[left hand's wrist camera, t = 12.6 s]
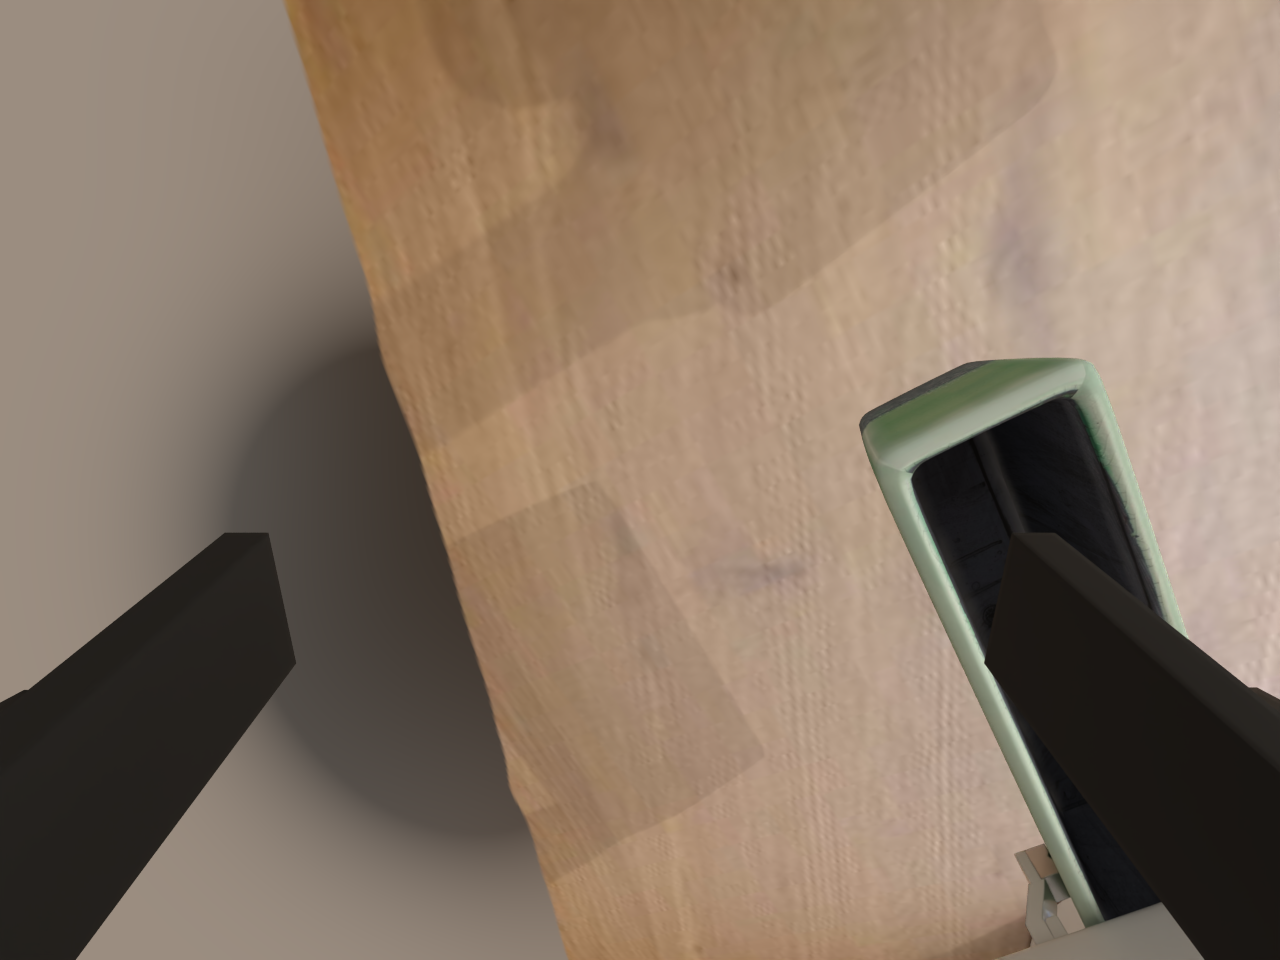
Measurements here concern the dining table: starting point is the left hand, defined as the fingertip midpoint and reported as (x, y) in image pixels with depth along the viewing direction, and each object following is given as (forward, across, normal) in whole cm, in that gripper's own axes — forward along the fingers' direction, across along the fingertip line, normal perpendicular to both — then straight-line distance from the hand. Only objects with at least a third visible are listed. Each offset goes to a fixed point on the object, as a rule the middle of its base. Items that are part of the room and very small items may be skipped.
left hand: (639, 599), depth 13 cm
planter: (+17, +17, -11) cm, 26 cm away
